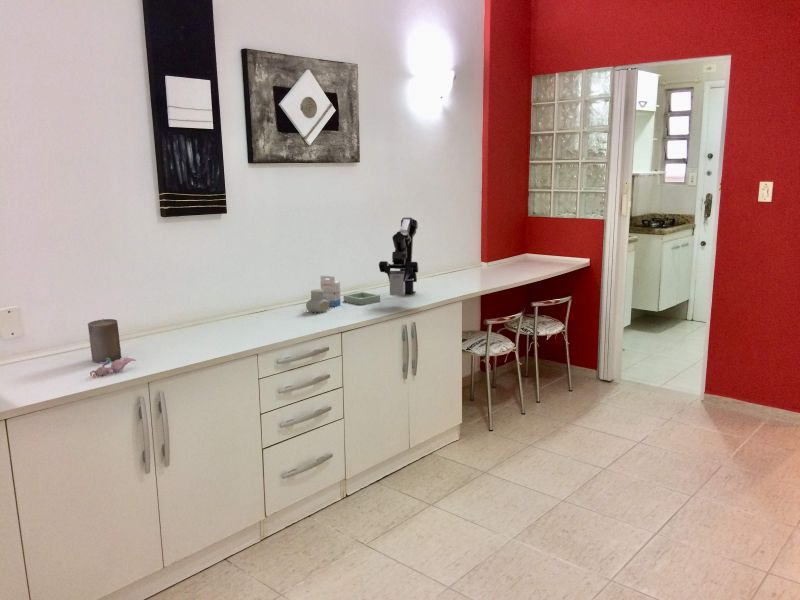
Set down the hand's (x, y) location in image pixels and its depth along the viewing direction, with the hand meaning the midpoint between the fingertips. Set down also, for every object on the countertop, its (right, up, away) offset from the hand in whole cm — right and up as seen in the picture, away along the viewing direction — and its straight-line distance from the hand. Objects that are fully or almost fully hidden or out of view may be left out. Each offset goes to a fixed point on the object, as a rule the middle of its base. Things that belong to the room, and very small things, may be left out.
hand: (396, 281), depth 317 cm
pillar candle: (-103, -30, -80) cm, 134 cm away
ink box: (-32, -12, +7) cm, 35 cm away
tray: (-18, -10, +15) cm, 25 cm away
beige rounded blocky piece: (-37, -15, -6) cm, 40 cm away
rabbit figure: (-94, -34, -95) cm, 138 cm away
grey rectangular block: (0, -6, +3) cm, 7 cm away
